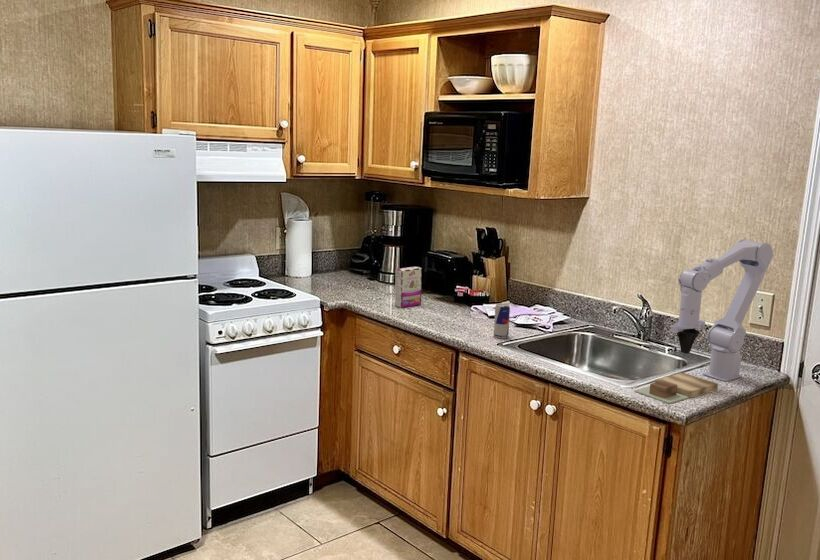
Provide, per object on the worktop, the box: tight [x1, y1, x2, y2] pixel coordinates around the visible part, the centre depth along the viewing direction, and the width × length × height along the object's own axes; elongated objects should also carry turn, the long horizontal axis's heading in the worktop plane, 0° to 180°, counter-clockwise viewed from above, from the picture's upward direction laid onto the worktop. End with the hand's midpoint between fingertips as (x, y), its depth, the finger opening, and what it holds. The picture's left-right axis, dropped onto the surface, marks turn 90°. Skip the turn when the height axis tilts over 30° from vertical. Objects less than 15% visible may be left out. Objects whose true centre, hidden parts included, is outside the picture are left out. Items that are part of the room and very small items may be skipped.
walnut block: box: [649, 380, 677, 399], centre depth 216 cm, size 6×5×3 cm
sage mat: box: [633, 385, 690, 405], centre depth 217 cm, size 9×12×1 cm
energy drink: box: [493, 303, 511, 340], centre depth 274 cm, size 5×5×12 cm
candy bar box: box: [394, 266, 423, 309], centre depth 319 cm, size 11×5×16 cm, turn 129°
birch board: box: [654, 372, 719, 399], centre depth 224 cm, size 14×12×2 cm
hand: (685, 352), depth 228 cm, fingers closed
